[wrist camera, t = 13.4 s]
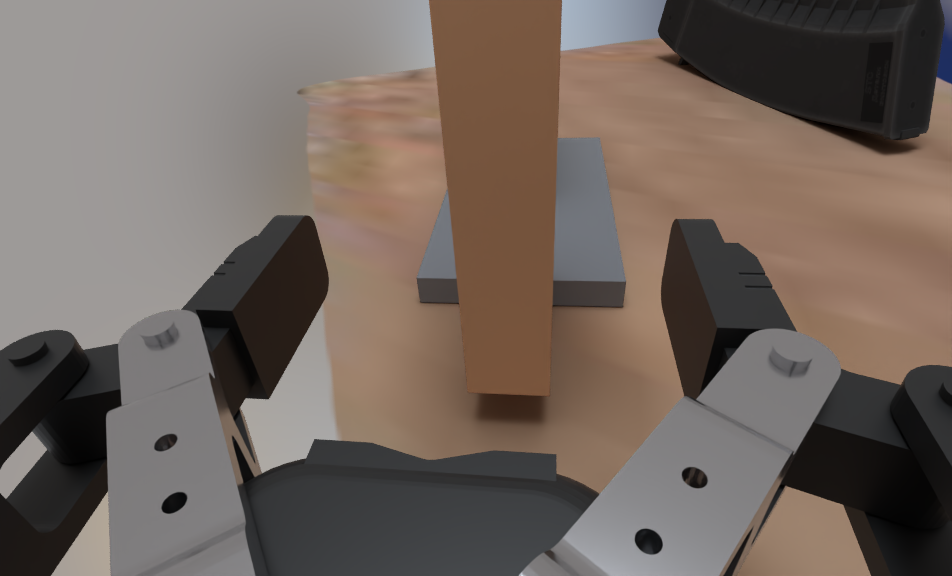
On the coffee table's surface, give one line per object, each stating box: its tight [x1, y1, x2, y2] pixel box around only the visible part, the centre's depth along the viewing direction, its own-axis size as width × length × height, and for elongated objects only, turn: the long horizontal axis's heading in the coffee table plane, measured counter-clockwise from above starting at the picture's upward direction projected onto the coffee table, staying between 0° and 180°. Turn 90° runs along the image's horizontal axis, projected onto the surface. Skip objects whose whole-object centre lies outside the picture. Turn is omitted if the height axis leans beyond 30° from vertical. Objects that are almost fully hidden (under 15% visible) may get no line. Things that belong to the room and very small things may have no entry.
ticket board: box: [417, 138, 626, 307], centre depth 29 cm, size 10×18×16 cm, turn 173°
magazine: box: [658, 0, 945, 140], centre depth 46 cm, size 17×3×30 cm
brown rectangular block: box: [429, 0, 562, 396], centre depth 19 cm, size 3×8×14 cm, turn 173°
